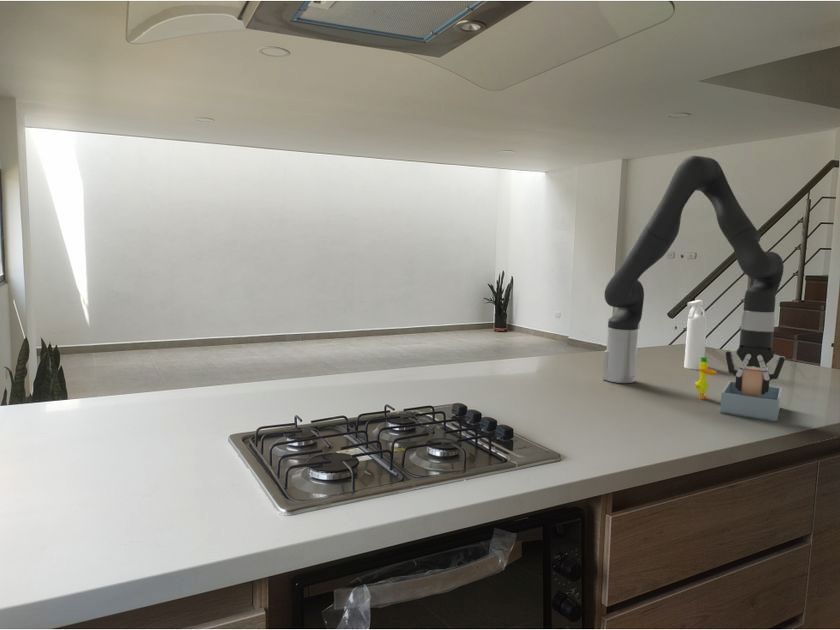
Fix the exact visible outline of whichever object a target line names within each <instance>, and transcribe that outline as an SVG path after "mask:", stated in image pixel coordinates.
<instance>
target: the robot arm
mask: <svg viewBox="0 0 840 630" xmlns="http://www.w3.org/2000/svg"><path fill="white" fill-rule="evenodd" d="M727 179H728V178H727V177H726V175H725V172H724V171H723V169H722V167H721V164H720V163H719V162H718V161H717V160H716V159H714V158H711V157H708V156H707V157H706V156H699V155H689V156H687V157H686V158H684V159H683V160H682V161H680V163H679V164H678V165H677V167H676V169H675V172H674V173H673V176H672V177H671V180H670V182H669V184H668V186H667V188H666V190H665V193H664V194H663V196H662V198H661V200H660V202H659V203H658V204H657V206H656V209H655V210H654V212H653V214H652V216H651V217H650V219H649V220H648V222H647V223H646V224H645V226H644V227H643V230H642V231H641V233H640V235H639V237H638V239H637V240H636V242H635V244H633V247H632V248H631V250H630V252H628V254H627V256H626V258H625V260H624V261H623V262H622V264H621V265H620V267H619V268H618V269H617V271H616V272H615V273H614V275H613V276H612V277H611V278H610V279H609V281H608V283H607V285H606V286H605V290H604V300H605V303H606V304H607V305H608V306H609V307H612V308H617V311H616V312H615V314H614V315H612V316H611V317H610V318H608V321H607V337H606V339H607V340H606V350H604V355H603V370H602V372H603V373H602V380H604V381H608V382H611V383H617V384H631V383H632V384H633V383H634V382H635V378H636V377H635V376H636V365H637V364H636V363H637V347H638V333H639V325H640V322H641V321H642V318H643V317H642V316H643V310H644V307H643V306H644V301H645V291H644V287H643V284H642V282H640V280H639V279H640V277H641V276H642V275H644V273H645V272H646V271H647V270H648V269H650V268H651V267H653V265H655V264H656V263H658V261H659V260H661V259H662V258H663V257H664V256H665V255H666V253H667V252H668V251H669V249H670V248H671V246H672V245H673V243H674V242H675V240H676V238H677V236H678V235H679V231H680V227H681V219H682V213H683V210H684V209H685V206H686V204H687V203H688V201H689V200H690V198H691V197H692V196H693V194H694V193H695V191H697V192H698V191H699V192H701V193H703V195H704V196H705V197H706V198H707V200H709V201H710V203H711V204H712V207H713V208H714V211H715V216H716V220H717V225H718V226H719V229H720V230H721V232H722V234H723V235H724V237H725V238H726V240H727V241H728V243H729V244H730V246H731V247H732V248H733V251H734V255H735V257H736V258H735V259H736V261H737V263H738V265H739V267H740V269H741V270H742V272H743V273H744V274H745V275H746V276H747V277H748V278H751V279H753V282H752V284H751V287H750V288H748V289H746V291H745V292H744V293H745V294H744V297H743V298H744V301H743V311H742V315H741V316H742V317H741V321H740V322H741V323H740V333H739V346H738V348H737V349H735V350H729V349H728V350H727V351H726V352H725V353H724V354H725V358H726V359H725V360H726V364H727V370H728V373H729V374H731V375H734V376H735V382H736V383H735V387H736V388H738V391H741V383H742V373H743V370H744V369H745V368H747V367H749V368H752V367H754V368H757V369H761V370H762V372H763V376H764V380H763V387H762V394H765V392H768V391H769V386H770V381H772V380H777V379H778V378H779V375H780V373H781V370H782V368H783V366H784V363H785V361H786V357H785V356H783V355H779V354H775V353H774V351H773V345H774V344H773V343H774V333H775V311H776V310H775V309H776V308H775V307H776V296H777V293H778V291H779V288H780V285H781V282H782V278H783V275H784V268H785V266H784V261H783V258H782V257H781V256H780V254H778V253H777V252H775V251H764V250H763V248H762V246H761V244H760V241H761V234H760V232H759V231H758V229H757V228H756V227H755V225H754V224H753V222H752V221H751V220H750V218H749V217H748V216H747V214H746V212H745V211H744V209H743V208H742V207H741V205H740V203H739V201H738V200H737V198H736V195H735V194H734V191H733V190H732V188H731V186H730V184H729V182H728V180H727ZM736 355H737V357H738V358H739V359H740V361H741V364H740V365H739V368H738V369H736V368H735V364H734V359H735V358H736ZM772 359H773V360H774V364H776V366H775V368H774V371H773V373H770V371H769V368H768V364H769V362H770V361H771V360H772Z"/></svg>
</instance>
